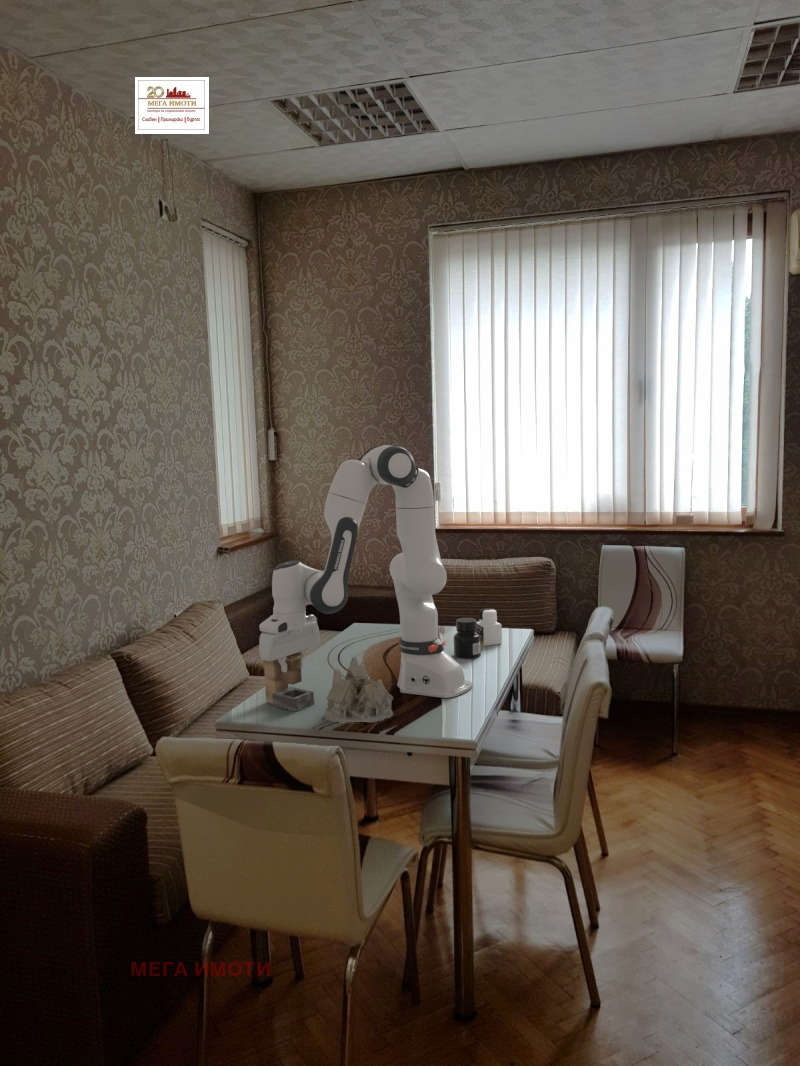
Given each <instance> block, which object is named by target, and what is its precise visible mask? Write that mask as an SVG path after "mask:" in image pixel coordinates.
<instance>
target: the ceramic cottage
mask: <svg viewBox="0 0 800 1066" xmlns="http://www.w3.org/2000/svg"><path fill="white" fill-rule="evenodd" d="M349 664H350V667H348V670H347V671H346V673H345V674H346V675H345V678H343V677H342V672H341V669H340V668H335V669H334V670H333V677H332V682H331V683H332V685H331V688H330V689H329V693H328V694H327V696H326V698H325V699H326V700H327V701H328V702H327V704H326V706H327V707H326V708H325V711H324V715H323V718H326V719H327V720H330V721H334V722H335V723H336V722H340V723H339V724H344V723H343V722H348V723H347V724H350V723H349V722H367V723H376V722H375V721H380V722H382V721H385V720H386V718H387V719H390V718H392V717H393V716H394V712H393V709H392V701H393V700H394V696H393V695H392V694H390V693H389V692H388V690H387V689H386V687H385V685H384V683H383V680H382V679H380V678H379V679H377V681H375V680H374V679H370V678H369V676H368V674H367V672H366V669H365V667H364V665H363V664H362V663H361V664H359V663H358V660H357V656H352V657H351V661H350V663H349ZM392 715H393V716H392ZM391 716H392V717H391ZM384 719H385V720H384ZM327 720H326V721H327ZM381 720H382V721H381ZM330 721H329V722H330ZM334 722H333V723H334Z"/></svg>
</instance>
